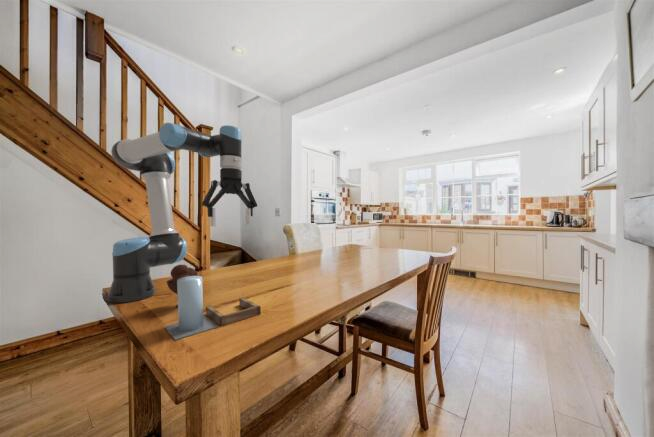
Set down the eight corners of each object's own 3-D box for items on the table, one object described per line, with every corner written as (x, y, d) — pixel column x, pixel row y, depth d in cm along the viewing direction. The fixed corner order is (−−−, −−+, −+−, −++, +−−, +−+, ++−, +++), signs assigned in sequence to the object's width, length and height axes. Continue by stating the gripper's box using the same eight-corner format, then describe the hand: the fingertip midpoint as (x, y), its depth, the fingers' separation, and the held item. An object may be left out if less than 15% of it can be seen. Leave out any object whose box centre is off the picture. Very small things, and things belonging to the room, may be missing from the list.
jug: (181, 333, 69) (180, 283, 69) (173, 323, 76) (172, 276, 76) (206, 326, 74) (205, 278, 73) (197, 317, 80) (195, 273, 80)
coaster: (164, 327, 74) (164, 326, 74) (204, 316, 82) (204, 315, 82) (175, 340, 66) (175, 339, 66) (218, 327, 74) (218, 326, 74)
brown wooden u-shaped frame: (206, 313, 84) (205, 306, 84) (242, 304, 93) (242, 297, 93) (221, 326, 75) (221, 317, 75) (260, 313, 84) (260, 306, 84)
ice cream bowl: (187, 312, 85) (186, 267, 85) (159, 309, 88) (158, 266, 87) (208, 301, 96) (207, 262, 96) (182, 299, 98) (182, 261, 98)
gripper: (198, 162, 84) (199, 227, 84) (265, 171, 101) (266, 224, 101) (191, 166, 89) (192, 226, 89) (256, 173, 106) (256, 224, 107)
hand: (231, 225), depth 95 cm, fingers open, 13 cm apart
